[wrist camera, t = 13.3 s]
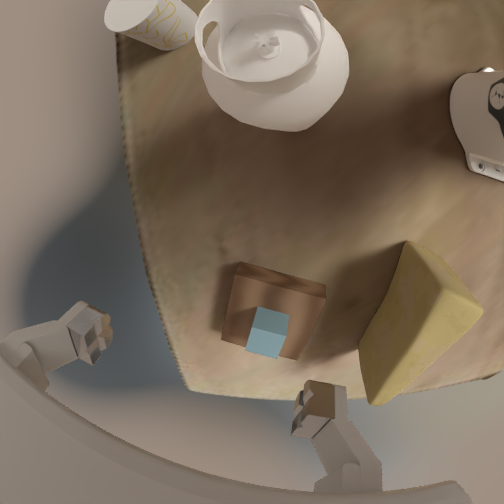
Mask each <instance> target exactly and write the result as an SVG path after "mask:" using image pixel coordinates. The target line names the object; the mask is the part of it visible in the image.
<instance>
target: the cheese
mask: <svg viewBox="0 0 504 504" xmlns="http://www.w3.org/2000/svg"><path fill="white" fill-rule="evenodd" d="M482 314H483V308H482V307H481V305H480V304H479V302H478V301H477V300H476V298H475V297H474V296H473V294H472V293H471V292H470V290H469V289H468V288H467V287H466V285H465V284H464V283H463V281H462V280H461V279H460V278H459V277H458V275H457V274H456V273H455V272H454V271H453V270H452V268H451V267H450V266H449V265H448V264H447V263H446V261H445V260H443V259H442V258H441V257H439V256H438V255H436V254H434V253H432V252H431V251H429V250H427V249H425V248H424V247H422V246H420V245H418V244H416V243H414V242H411V241H406V242H405V244H404V246H403V249H402V252H401V255H400V258H399V262H398V265H397V268H396V270H395V273H394V276H393V279H392V281H391V284H390V287H389V289H388V291H387V294H386V296H385V298H384V300H383V302H382V304H381V305H380V307H379V309H378V310H377V312H376V314H375V315H374V317H373V318H372V320H371V322H370V324H369V325H368V327H367V329H366V331H365V333H364V334H363V336H362V338H361V340H360V342H359V344H358V351H359V360H360V367H361V373H362V378H363V382H364V386H365V390H366V395H367V400H368V403H369V404H370V405H374V406H380V405H383V404H384V403H386V402H388V401H389V400H390V399H391V398H393V397H394V396H395V395H397V394H398V393H399V392H400V391H401V390H402V389H404V388H405V387H406V386H407V385H408V384H409V383H411V382H412V381H413V380H414V379H415V378H416V377H418V376H419V375H420V374H421V373H422V372H423V371H424V370H425V369H426V368H428V367H429V366H430V365H431V364H432V363H433V362H434V361H435V360H436V359H437V358H438V357H439V356H441V355H442V354H443V353H444V352H445V351H446V350H447V349H448V348H449V347H451V346H452V345H453V344H454V343H455V342H456V341H457V340H458V339H459V338H460V337H462V336H463V335H464V334H465V333H466V332H467V331H468V330H469V329H470V328H471V327H472V326H473V325H474V324H475V323H476V322H477V320H478V319H479V318H480V317H481V316H482Z"/></svg>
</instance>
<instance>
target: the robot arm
mask: <svg viewBox="0 0 504 504" xmlns="http://www.w3.org/2000/svg"><path fill="white" fill-rule="evenodd" d="M450 114H451V119H452V123H453V127H454V130H455V132H456V134H457V137H458V139H459V140H460V142H461V144H462V146H463V148H464V150H465V154H466V160H467V164H468V167H469V169H470V170H471V171H473V172H476V173H479V174H482V175H485V176H488V177H491V178H494V179H497V180H500V181H502V182H504V71H494V70H493V69H492V68H490V67H485V68H483V69H482V70H481V71H479V72H478V73H467V74H464V75H462V76H461V77H459V78H458V79H457V80H456V82H455V83H454V85H453V88H452V91H451V95H450ZM479 164H480V168H479ZM109 322H111V320H110V315H108V314H106V313H105V312H103V311H101V310H99V309H96V308H95V307H93V306H91V305H89V304H87V303H85V302H83V301H79V302H77V303H76V304H75V305H74V306H73V307H72V308H71V309H70V310H68V312H66V313H65V314H64V315H63V316H62V317H61V318H60V319H59V320H58V321H56V320H53V321H49V322H46V323H42V324H39V325H35V326H31V327H27V328H24V329H20V330H16V331H13V332H12V333H11V334H10V335H9V336H8V337H7V338H6V339H5V340H4V341H3V342H2V343H1V344H0V504H472V500H471V498H470V497H469V495H468V494H467V493H466V492H465V490H464V489H463V488H462V487H461V486H460V485H459V484H458V483H457V482H456V481H452V480H450V481H444V482H440V483H435V484H431V485H426V486H420V487H414V488H408V489H400V490H391V491H382V468H381V462H380V460H379V459H378V458H377V456H376V455H375V454H374V452H373V451H372V449H371V448H370V446H369V445H368V444H367V442H366V441H365V440H364V438H363V437H362V435H361V434H360V433H359V431H358V430H357V428H356V427H355V426H354V424H353V423H352V421H348V407H347V391H346V387H345V386H340V385H334V384H330V383H324V382H318V381H313V380H307V381H306V383H305V384H304V390H302V391H300V392H299V394H298V396H297V398H296V401H295V405H294V414H295V416H296V417H295V419H294V420H293V421H292V429H291V436H295V437H301V438H306V439H311V442H312V444H313V446H314V448H315V450H316V452H317V454H318V456H319V458H320V460H321V462H322V464H323V466H324V468H325V470H326V472H327V474H328V475H327V476H325V477H324V478H322V479H320V480H319V481H317V482H315V485H314V492H307V491H296V490H287V489H280V488H272V487H266V486H260V485H255V484H250V483H245V482H240V481H236V480H232V479H227V478H223V477H219V476H216V475H212V474H208V473H205V472H202V471H199V470H196V469H193V468H190V467H187V466H184V465H181V464H178V463H175V462H173V461H170V460H167V459H165V458H162V457H160V456H157V455H154V454H152V453H150V452H148V451H145V450H143V449H141V448H139V447H137V446H134V445H132V444H130V443H128V442H126V441H124V440H122V439H120V438H118V437H116V436H114V435H112V434H111V433H109V432H107V431H105V430H103V429H101V428H100V427H98V426H96V425H94V424H93V423H91V422H89V421H88V420H86V419H85V418H83V417H81V416H80V415H78V414H77V413H75V412H73V411H72V410H70V409H69V408H68V407H66V406H65V405H63V404H62V403H60V402H59V401H57V400H56V399H54V398H53V397H52V396H51V395H49V394H48V393H47V392H45V390H46V389H47V387H48V386H49V381H48V379H47V377H46V375H45V373H47V372H50V371H52V370H54V369H56V368H58V367H60V366H63V365H65V364H67V363H69V362H71V361H74V360H76V359H77V358H80V359H81V360H84V361H85V362H87V363H89V364H91V365H94V364H95V362H96V361H97V360H98V358H99V357H100V356H101V350H104V349H106V348H107V347H108V346H109V344H110V342H111V340H112V336H113V331H112V328H111V327H110V325H109Z"/></svg>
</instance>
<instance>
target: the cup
mask: <svg viewBox="0 0 504 504" xmlns="http://www.w3.org/2000/svg"><path fill="white" fill-rule="evenodd" d="M197 20H198V17H197V15H196V14H195V13H194V12H193V11H192V10H191V9H190V8H189V7H188V6H186V5H185V4H184V3H183V2H182V1H180V0H111V1H110V2H109V4H108V6H107V8H106V11H105V15H104V21H105V24H106V26H107V28H108V29H110V30H112V31H114V32H117V33H120V34H123V35H125V36H128V37H131V38H133V39H136V40H139V41H141V42H144V43H146V44H148V45H151V46H153V47H156V48H158V49H160V50H165V51H169V50H175V49H178V48H180V47H182V46H183V45H185V44H186V43H188V42H189V41H190V40H191V39H192V37H193V36H194V35H195V25H196V23H197Z"/></svg>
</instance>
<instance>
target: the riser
mask: <svg viewBox="0 0 504 504" xmlns="http://www.w3.org/2000/svg"><path fill="white" fill-rule="evenodd" d="M325 302H326V287H325V285H323V284H319V283H315V282H312V281H308V280H305V279H301V278H297V277H294V276H290V275H286V274H283V273H279V272H276V271H272V270H268V269H265V268H261V267H258V266H254V265H250V264H247V263H243V262H240V264H239V266H238V268H237V270H236V272H235V275H234V279H233V284H232V289H231V294H230V298H229V303H228V308H227V313H226V318H225V323H224V327H223V332H222V337H221V340H223V341H227V342H230V343H233V344H237V345H240V346H244V347H246V345H247V342H248V338H249V335H250V331H251V328H252V325H253V321H254V318H255V314H256V311H257V308H258V306H259V307H262V308H266V309H269V310H273V311H277V312H280V313H284V314H288V315H289V320H288V328H287V336H286V339H285V341H284V343H283V346H282V348H281V350H280V353H279V355H278V356H281V357H285V358H289V359H293V360H298V359H299V357H300V355H301V353H302V351H303V349H304V347H305V345H306V343H307V341H308V338H309V336H310V334H311V332H312V330H313V328H314V326H315V324H316V322H317V319H318V317H319V315H320V313H321V311H322V308H323V306H324V304H325Z"/></svg>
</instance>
